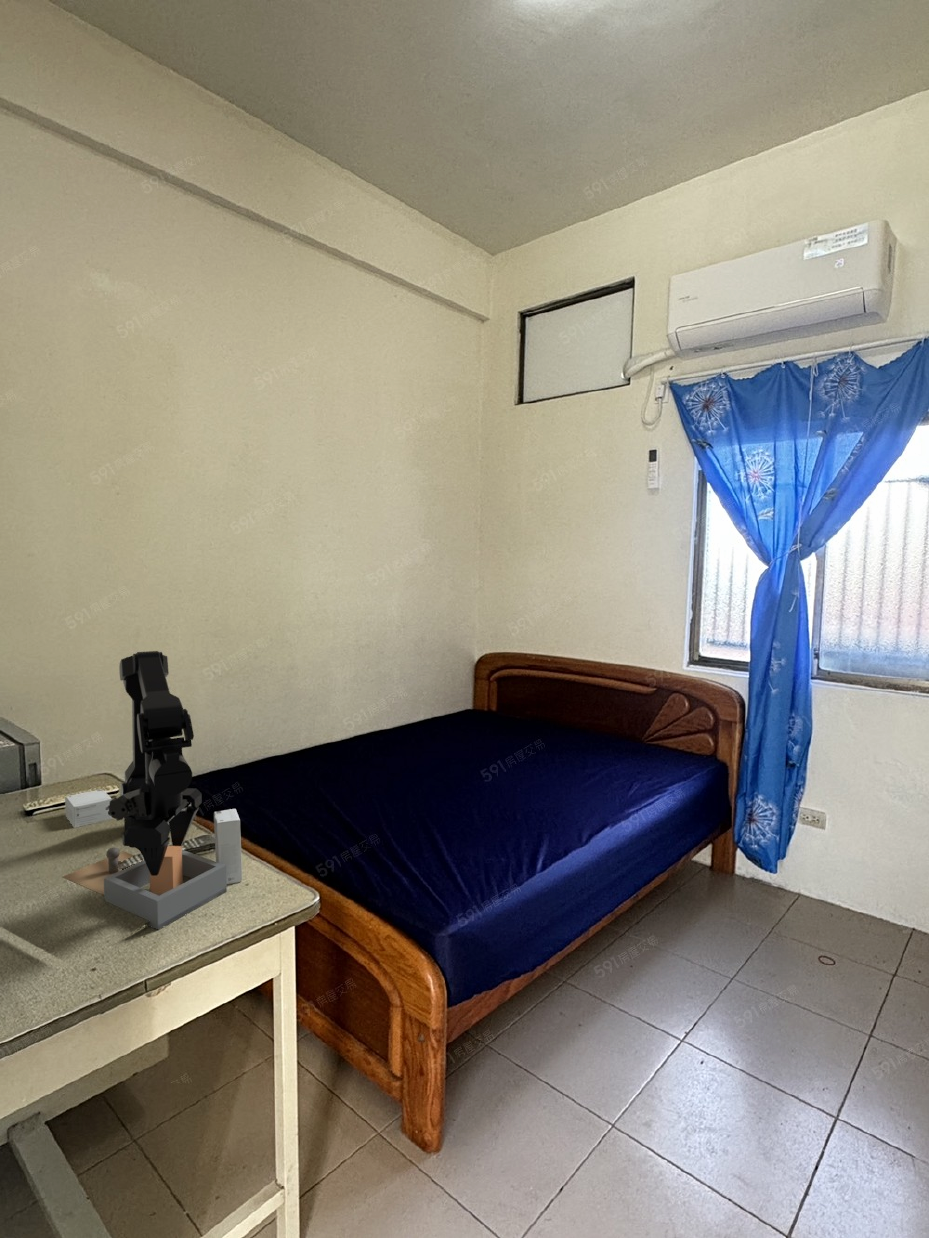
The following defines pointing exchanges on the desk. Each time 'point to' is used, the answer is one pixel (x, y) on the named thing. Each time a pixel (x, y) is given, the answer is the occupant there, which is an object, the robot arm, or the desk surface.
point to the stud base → (99, 871)
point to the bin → (172, 903)
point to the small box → (87, 808)
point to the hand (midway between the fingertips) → (166, 862)
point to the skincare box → (228, 843)
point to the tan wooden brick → (168, 872)
